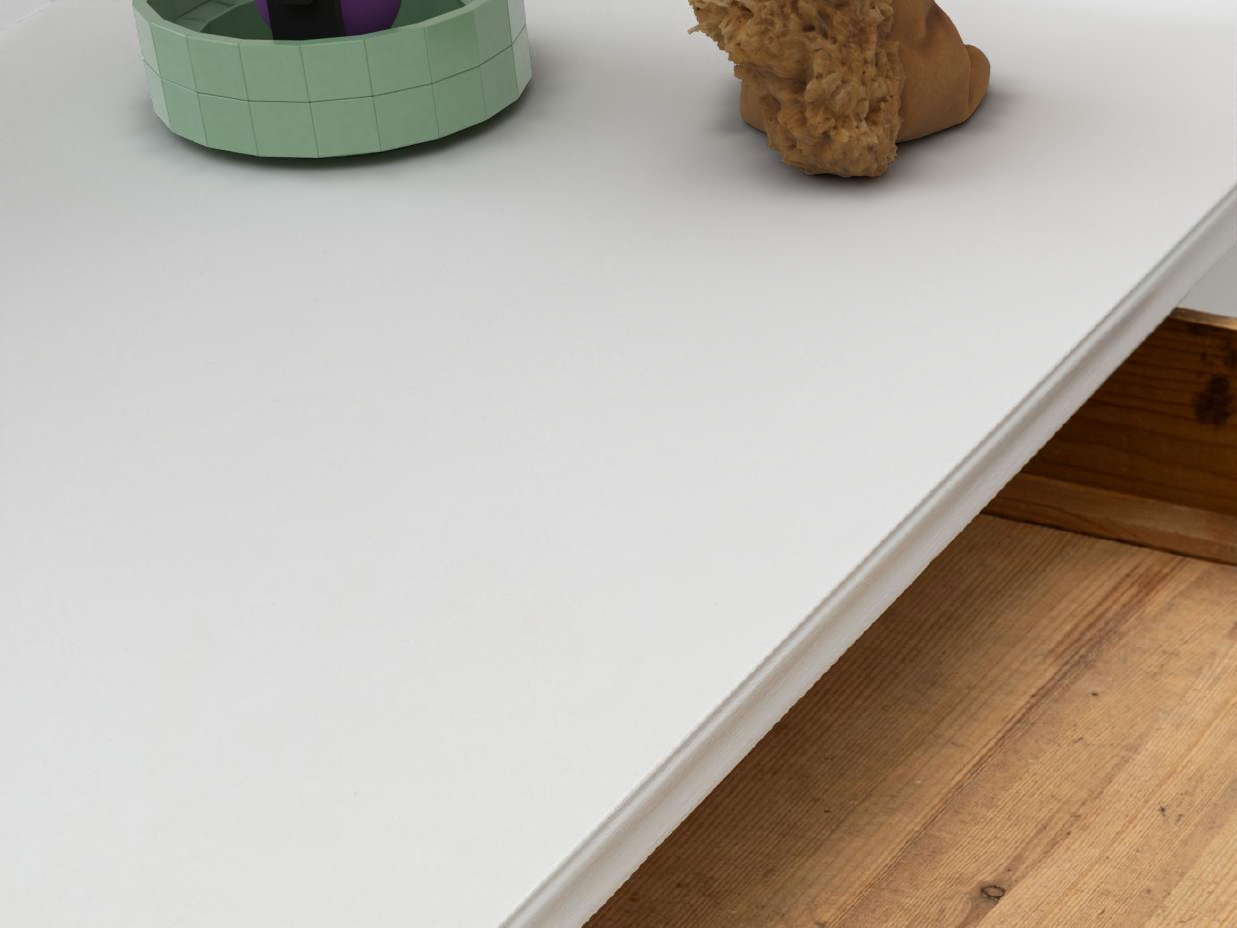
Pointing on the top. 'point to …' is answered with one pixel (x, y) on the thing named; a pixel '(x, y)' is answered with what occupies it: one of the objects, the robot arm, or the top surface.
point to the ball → (357, 15)
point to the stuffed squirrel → (845, 76)
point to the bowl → (330, 76)
